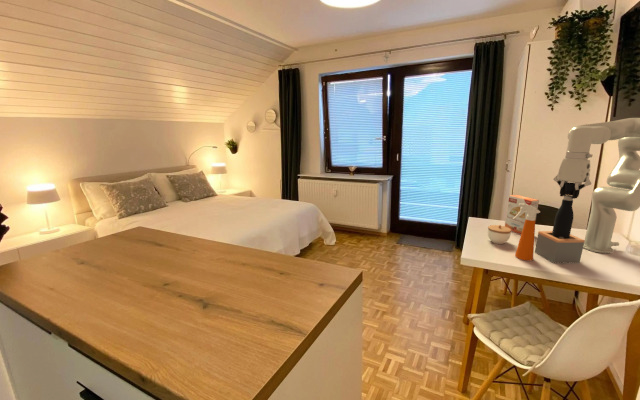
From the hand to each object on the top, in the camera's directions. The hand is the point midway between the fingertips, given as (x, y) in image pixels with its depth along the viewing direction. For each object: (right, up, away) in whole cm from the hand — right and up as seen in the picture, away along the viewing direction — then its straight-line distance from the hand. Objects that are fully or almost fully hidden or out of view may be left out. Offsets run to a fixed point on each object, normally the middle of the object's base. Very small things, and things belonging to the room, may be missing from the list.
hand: (568, 196), depth 134 cm
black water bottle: (0, -23, +6) cm, 24 cm away
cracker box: (+5, -20, +41) cm, 46 cm away
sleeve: (0, -29, +7) cm, 30 cm away
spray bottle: (-17, -29, +8) cm, 34 cm away
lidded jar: (-16, -24, +26) cm, 39 cm away
